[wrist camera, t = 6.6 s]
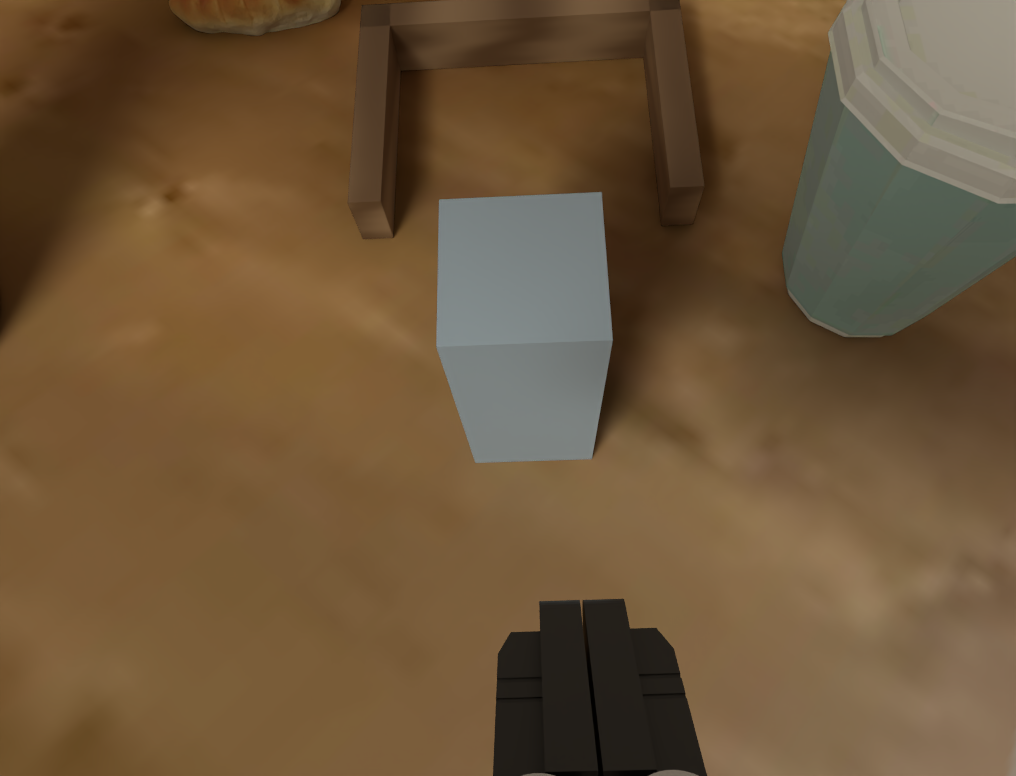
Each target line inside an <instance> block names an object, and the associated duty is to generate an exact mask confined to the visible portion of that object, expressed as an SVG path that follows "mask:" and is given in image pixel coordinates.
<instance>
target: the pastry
mask: <svg viewBox="0 0 1016 776" xmlns="http://www.w3.org/2000/svg"><path fill="white" fill-rule="evenodd" d="M340 4H341V0H169V6H170V9H171V11H172V12H173V13H174V14H175V15H176V16H177V17H179V18H180V19H181V20H182V21H184V22H185V23H186V24H187V25H189V26H190V27H192V28H193V29H195V30H197V31H200V32H206V33H218V32H229V33H235V34H246V35H250V36H261V35H263V34H265V33H267V32H276V31H280V30H285V29H291V28H298V27H302V26H307V25H310V24H313V23H318V22H321V21H323V20H325V19H328V18H330V17H332V16H334V15H335V14H336V13H337V12H338V11H339V7H340Z"/></svg>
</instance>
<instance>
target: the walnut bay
mask: <svg viewBox="0 0 1016 776" xmlns="http://www.w3.org/2000/svg"><path fill="white" fill-rule="evenodd" d="M626 58H643V59H644V68H645V78H646V87H647V96H648V106H649V115H650V124H651V133H652V143H653V152H654V161H655V171H656V180H657V189H658V199H659V208H660V217H661V226H666V225H688V224H693V222H694V219H695V216H696V212H697V209H698V206H699V202H700V199H701V196H702V193H703V189H704V179H703V171H702V164H701V156H700V149H699V141H698V134H697V127H696V119H695V112H694V104H693V97H692V90H691V82H690V75H689V67H688V60H687V53H686V45H685V38H684V30H683V23H682V16H681V8H680V1H679V0H443V1H426V2H409V3H392V4H375V5H362V9H361V23H360V37H359V51H358V65H357V79H356V93H355V107H354V121H353V135H352V150H351V164H350V178H349V192H348V205H349V207H350V209H351V212H352V214H353V217H354V219H355V221H356V224H357V226H358V228H359V231H360V233H361V236H362V238H363V239H376V238H393V235H394V212H395V190H396V167H397V144H398V121H399V99H400V76H401V71H405V70H423V69H442V68H460V67H478V66H497V65H515V64H534V63H552V62H570V61H589V60H607V59H626Z"/></svg>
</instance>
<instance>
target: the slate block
mask: <svg viewBox="0 0 1016 776" xmlns="http://www.w3.org/2000/svg"><path fill="white" fill-rule="evenodd" d="M612 342H613V336H612V323H611V310H610V296H609V283H608V270H607V257H606V243H605V230H604V217H603V203H602V192H591V193H569V194H548V195H527V196H505V197H484V198H463V199H441V200H439V235H438V289H437V344H436V347H437V350H438V353H439V356H440V359H441V362H442V365H443V368H444V371H445V374H446V377H447V380H448V383H449V386H450V389H451V392H452V395H453V398H454V400H455V403H456V406H457V409H458V412H459V415H460V418H461V421H462V424H463V427H464V430H465V433H466V436H467V439H468V442H469V445H470V448H471V451H472V454H473V457H474V460H475V463H482V462H514V461H545V460H577V459H592V455H593V450H594V444H595V438H596V433H597V427H598V421H599V416H600V410H601V404H602V399H603V393H604V387H605V381H606V376H607V370H608V364H609V359H610V353H611V347H612Z"/></svg>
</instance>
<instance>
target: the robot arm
mask: <svg viewBox="0 0 1016 776" xmlns="http://www.w3.org/2000/svg"><path fill="white" fill-rule="evenodd" d="M539 605H540V631H537V632H511V633H510V635H509V636H508V638H507V640H506V641H505V643H504V645H503V646H502V648H501V650H500V651H499V653H498V667H497V692H496V717H495V742H494V766H493V776H707V774H706V770H705V767H704V763H703V759H702V755H701V751H700V747H699V744H698V740H697V736H696V732H695V728H694V724H693V721H692V717H691V713H690V709H689V705H688V701H687V698H686V696H685V690H684V686H683V682H682V678H680V671H679V667H678V663H677V659H676V656H675V652H674V648H673V647H672V646H671V645H670V644H669V643H668V641H667V640H666V639H665V638H664V637H663V635H662V634H661V633H660V632H659V631H658V630H657V628H638V629H630V627H629V622H628V617H627V612H626V606H625V602H624V599H602V600H583V626H582V616H581V607H580V600H567V601H539Z"/></svg>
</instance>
